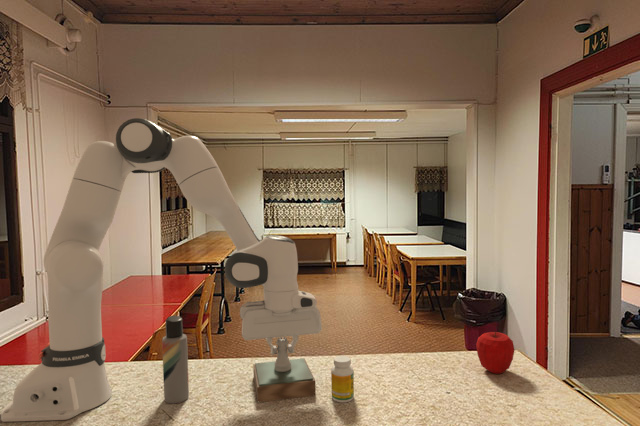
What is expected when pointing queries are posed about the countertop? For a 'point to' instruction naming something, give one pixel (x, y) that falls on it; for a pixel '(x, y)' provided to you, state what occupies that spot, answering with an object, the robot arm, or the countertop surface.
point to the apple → (495, 351)
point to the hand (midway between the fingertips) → (282, 352)
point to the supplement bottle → (342, 379)
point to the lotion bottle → (175, 361)
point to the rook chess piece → (282, 356)
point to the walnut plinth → (283, 381)
